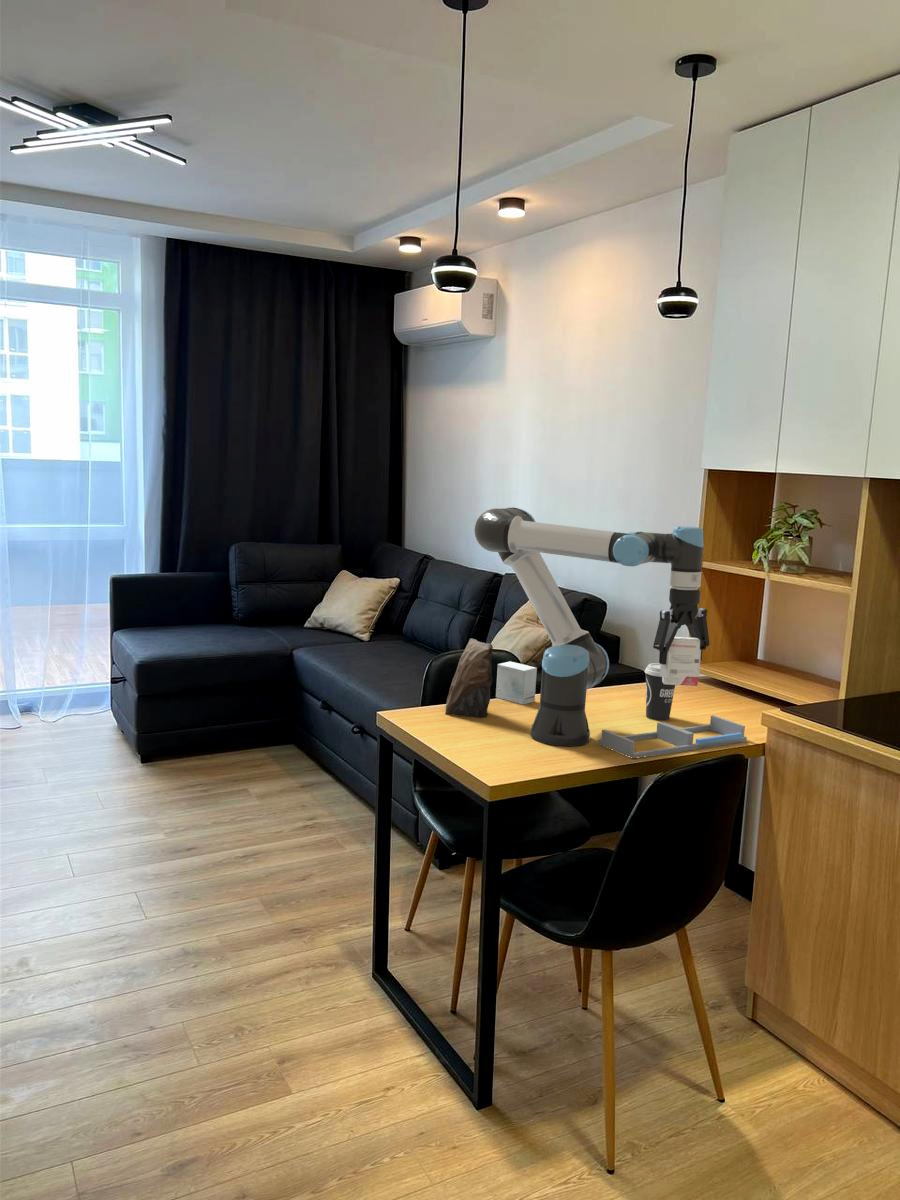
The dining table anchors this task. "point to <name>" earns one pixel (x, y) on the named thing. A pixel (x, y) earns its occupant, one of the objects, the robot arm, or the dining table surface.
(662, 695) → the coffee cup
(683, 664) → the ink box
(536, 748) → the dining table surface
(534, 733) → the robot arm
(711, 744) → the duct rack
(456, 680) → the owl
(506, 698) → the skincare box
